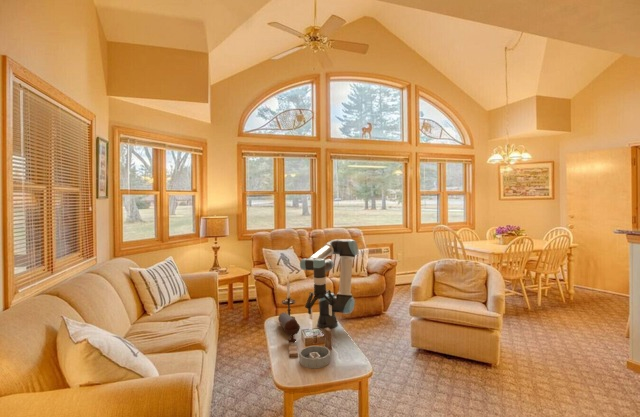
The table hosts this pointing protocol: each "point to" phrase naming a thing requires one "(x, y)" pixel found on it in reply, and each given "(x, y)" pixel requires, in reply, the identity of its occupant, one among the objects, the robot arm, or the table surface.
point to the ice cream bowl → (291, 329)
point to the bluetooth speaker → (284, 318)
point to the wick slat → (328, 338)
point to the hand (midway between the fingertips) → (320, 317)
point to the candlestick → (288, 300)
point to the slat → (293, 351)
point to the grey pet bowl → (314, 356)
